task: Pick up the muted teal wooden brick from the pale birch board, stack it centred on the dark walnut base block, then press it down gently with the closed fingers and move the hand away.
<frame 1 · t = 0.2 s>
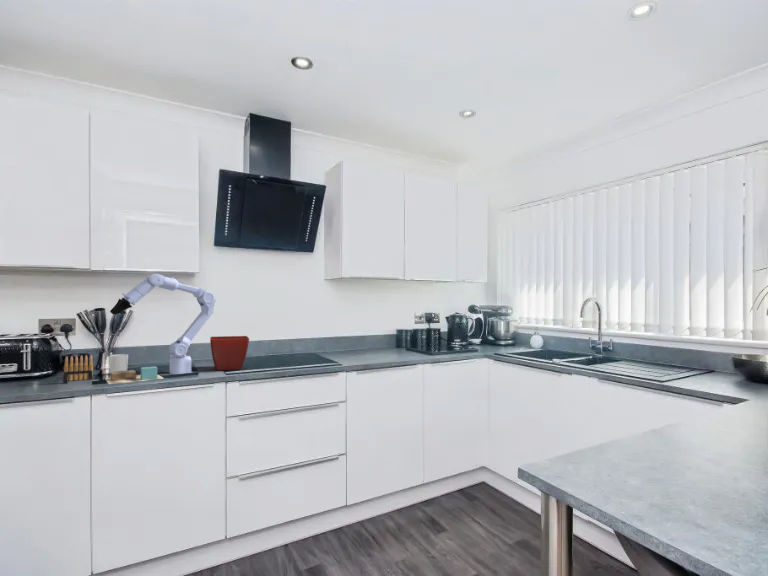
hand: (112, 313, 184), 31 cm above the countertop, tool tilted 45°, fingers open, 7 cm apart
teal brick: (148, 378, 186), point 1 cm above the countertop, touching birch board
birch board: (134, 380, 186), on the countertop
ammunition clip: (78, 382, 182), on the countertop
plant pot: (229, 369, 220), on the countertop
walnut base block: (123, 378, 185), resting on birch board
white cup: (118, 376, 198), on the countertop
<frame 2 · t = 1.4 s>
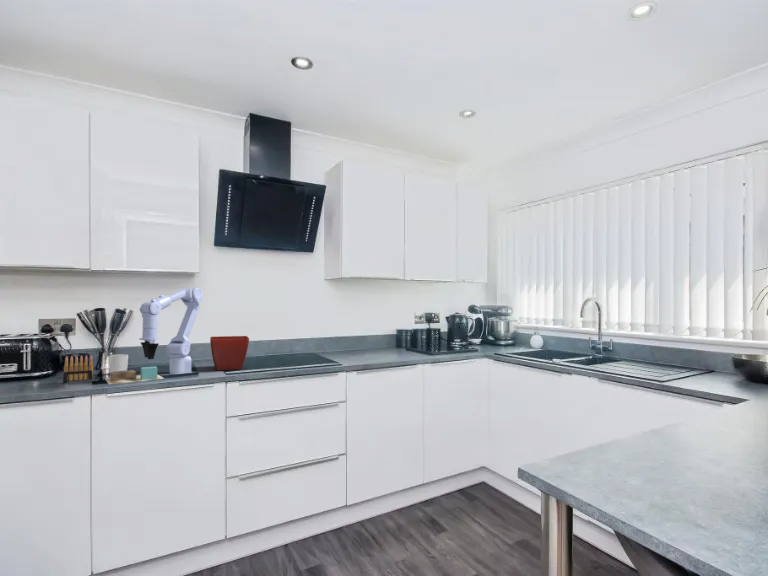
hand: (149, 358, 186), 10 cm above the countertop, tool pointing down, fingers open, 7 cm apart
nothing on the countertop moved.
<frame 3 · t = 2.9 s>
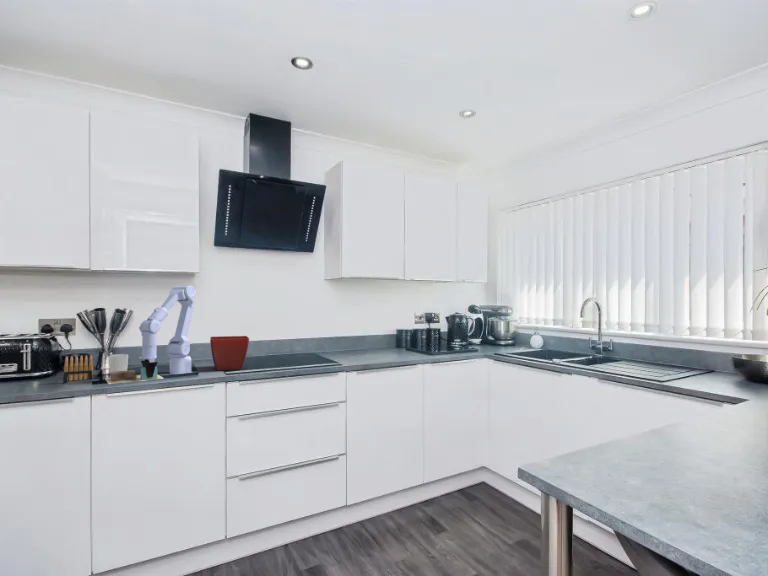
hand: (148, 376, 186), 2 cm above the countertop, tool pointing down, fingers closed on teal brick, 4 cm apart
teal brick: (148, 378, 186), point 1 cm above the countertop, touching birch board, gripper
everything else where it was.
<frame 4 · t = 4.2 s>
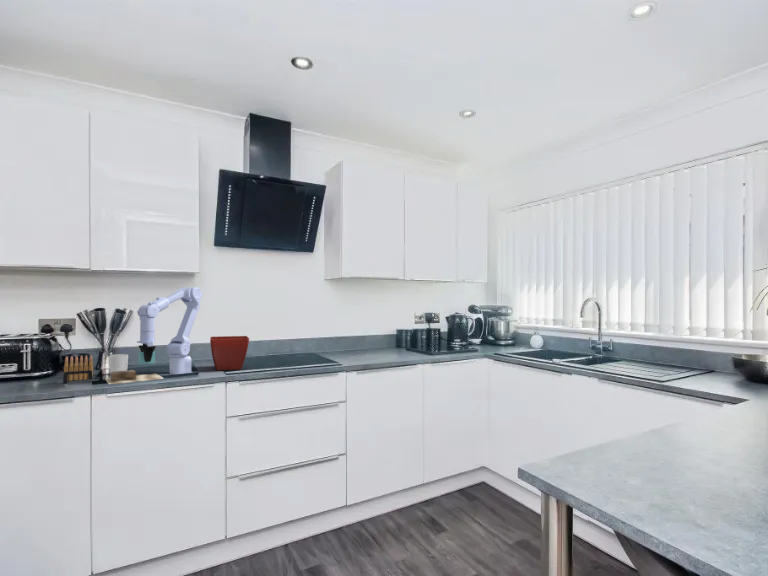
hand: (146, 361, 186), 9 cm above the countertop, tool pointing down, fingers closed on teal brick, 4 cm apart
teal brick: (146, 363, 186), point 8 cm above the countertop, touching gripper
everything else where it was.
when the fingers open (6 cm above the countertop, at t = 5.8 s): teal brick drops 1 cm, resting on walnut base block.
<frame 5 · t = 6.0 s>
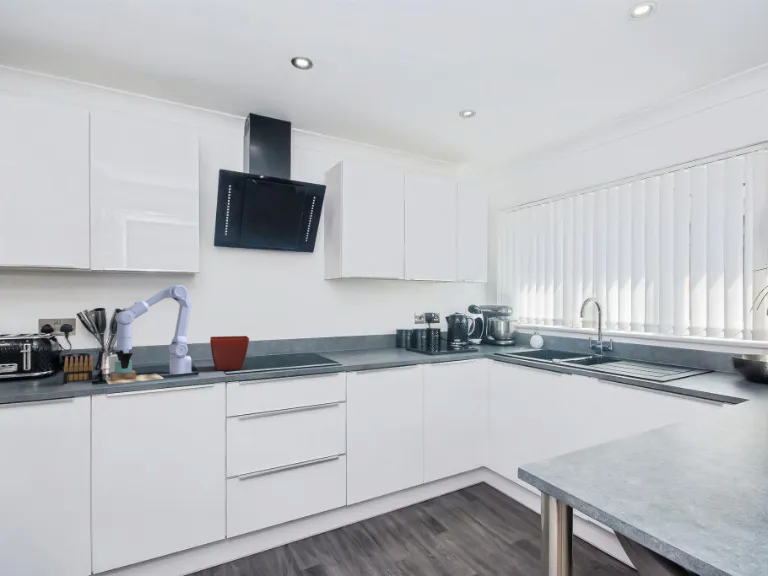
hand: (123, 367, 185), 6 cm above the countertop, tool pointing down, fingers open, 6 cm apart
teal brick: (123, 372, 185), point 4 cm above the countertop, touching walnut base block
everything else where it was.
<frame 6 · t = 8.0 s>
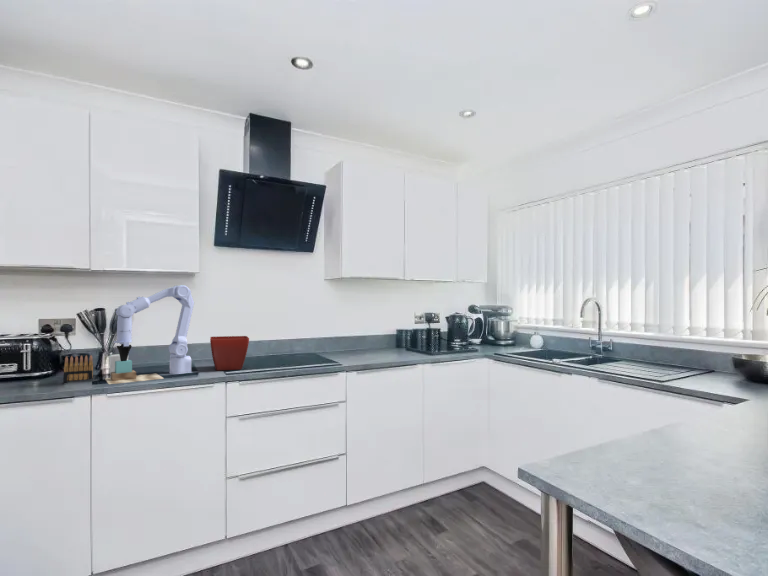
hand: (123, 361, 186), 9 cm above the countertop, tool pointing down, fingers closed, pressing on teal brick
teal brick: (123, 372, 185), point 4 cm above the countertop, touching gripper, walnut base block
everything else where it was.
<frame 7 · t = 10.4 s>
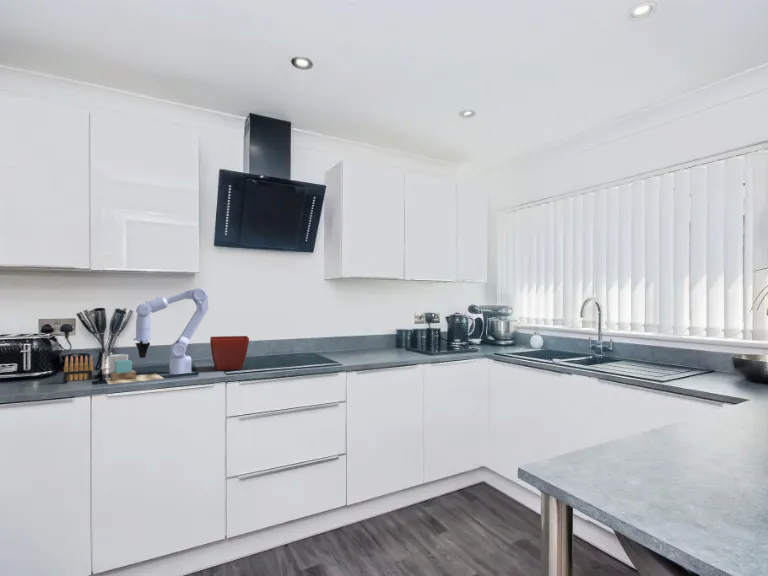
hand: (142, 357, 194), 9 cm above the countertop, tool pointing down, fingers closed
teal brick: (123, 372, 185), point 4 cm above the countertop, touching walnut base block
everything else where it was.
at the end: teal brick 0.0 cm off-centre on the walnut base block, point 3.0 cm above the walnut base block's base; teal brick tilted 0°; the gripper is holding nothing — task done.
